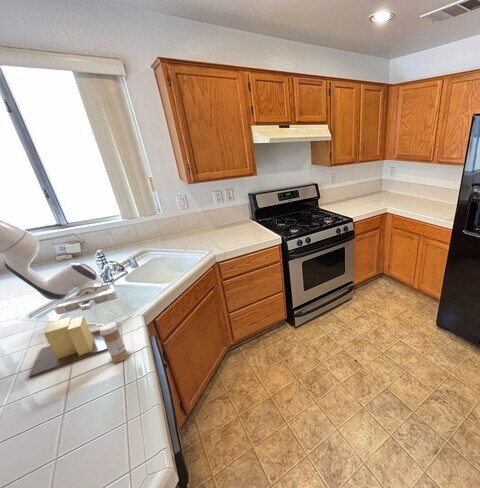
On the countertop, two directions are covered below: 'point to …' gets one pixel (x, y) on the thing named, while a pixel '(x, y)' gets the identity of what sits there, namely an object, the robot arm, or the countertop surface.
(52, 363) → the walnut board
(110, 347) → the sprinkles bottle
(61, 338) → the butter block
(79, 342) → the butter slice
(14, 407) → the countertop surface
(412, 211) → the countertop surface
